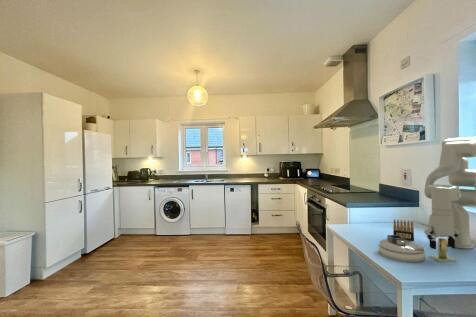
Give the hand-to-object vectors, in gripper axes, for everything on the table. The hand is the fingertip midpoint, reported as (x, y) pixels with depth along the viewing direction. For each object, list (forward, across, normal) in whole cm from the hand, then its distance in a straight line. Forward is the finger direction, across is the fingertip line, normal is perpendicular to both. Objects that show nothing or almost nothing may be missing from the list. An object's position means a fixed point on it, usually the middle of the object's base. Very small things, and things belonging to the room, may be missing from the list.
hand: (442, 247), depth 126 cm
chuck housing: (+6, +15, -8) cm, 18 cm away
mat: (+6, 0, 0) cm, 6 cm away
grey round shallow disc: (+2, +15, -8) cm, 17 cm away
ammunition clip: (+6, -5, -32) cm, 33 cm away
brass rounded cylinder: (+5, 0, 0) cm, 5 cm away
